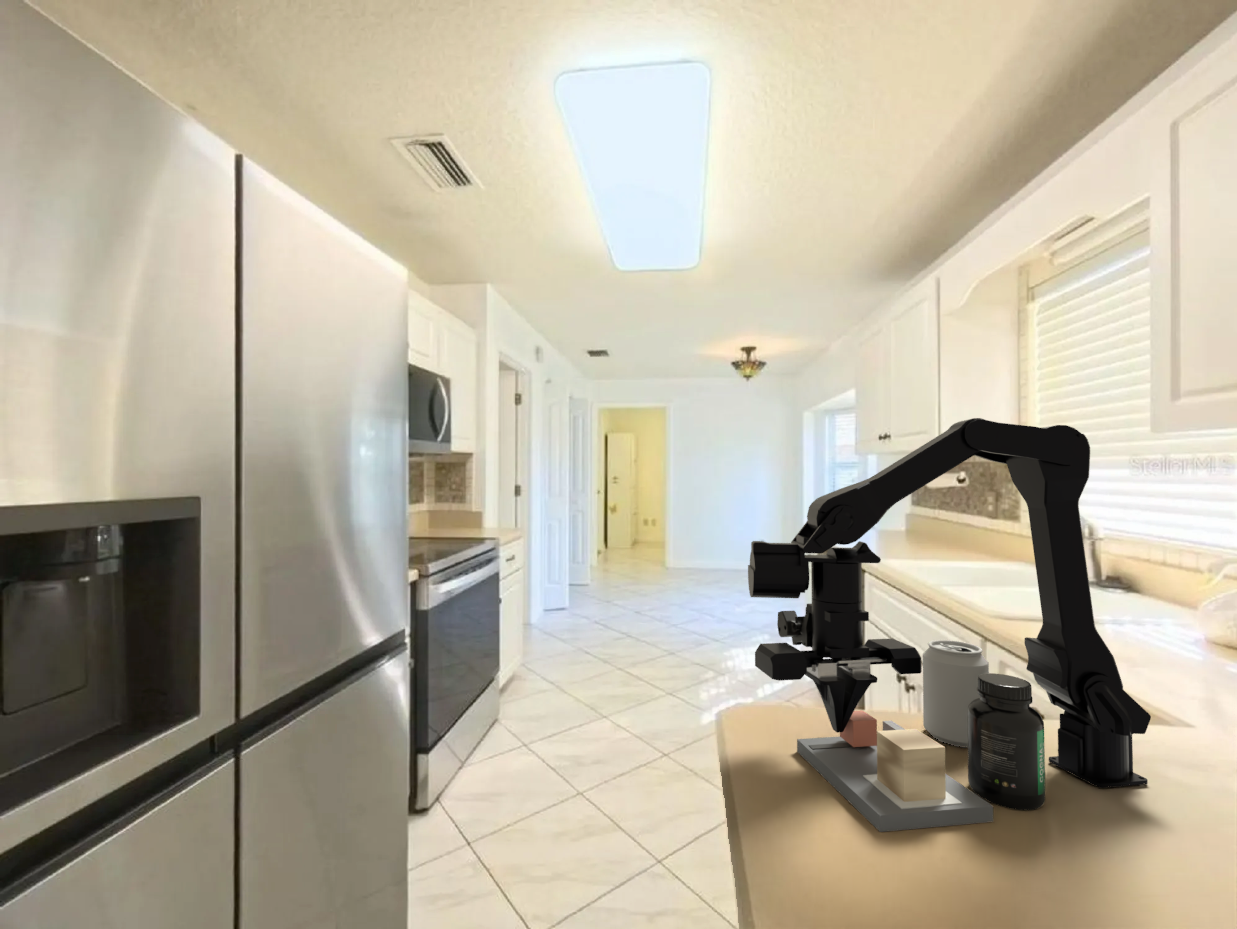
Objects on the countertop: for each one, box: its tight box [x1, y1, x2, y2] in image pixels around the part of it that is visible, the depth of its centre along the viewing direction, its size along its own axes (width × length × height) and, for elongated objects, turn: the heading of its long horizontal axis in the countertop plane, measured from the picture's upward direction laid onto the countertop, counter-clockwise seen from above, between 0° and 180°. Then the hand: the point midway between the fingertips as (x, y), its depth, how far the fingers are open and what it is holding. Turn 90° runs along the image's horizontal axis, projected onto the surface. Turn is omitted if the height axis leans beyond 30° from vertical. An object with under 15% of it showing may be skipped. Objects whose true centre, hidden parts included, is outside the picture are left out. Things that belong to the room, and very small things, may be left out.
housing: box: [877, 728, 946, 802], centre depth 60 cm, size 4×4×5 cm
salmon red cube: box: [839, 709, 878, 747], centre depth 71 cm, size 3×3×3 cm
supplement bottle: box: [967, 672, 1046, 811], centre depth 63 cm, size 7×7×12 cm
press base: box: [796, 720, 994, 833], centre depth 65 cm, size 12×17×4 cm
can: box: [922, 639, 990, 748], centre depth 77 cm, size 8×8×12 cm
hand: (837, 730), depth 70 cm, fingers closed
